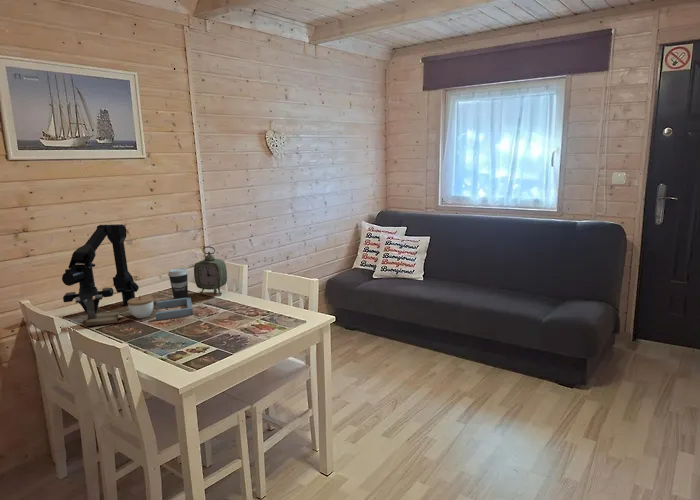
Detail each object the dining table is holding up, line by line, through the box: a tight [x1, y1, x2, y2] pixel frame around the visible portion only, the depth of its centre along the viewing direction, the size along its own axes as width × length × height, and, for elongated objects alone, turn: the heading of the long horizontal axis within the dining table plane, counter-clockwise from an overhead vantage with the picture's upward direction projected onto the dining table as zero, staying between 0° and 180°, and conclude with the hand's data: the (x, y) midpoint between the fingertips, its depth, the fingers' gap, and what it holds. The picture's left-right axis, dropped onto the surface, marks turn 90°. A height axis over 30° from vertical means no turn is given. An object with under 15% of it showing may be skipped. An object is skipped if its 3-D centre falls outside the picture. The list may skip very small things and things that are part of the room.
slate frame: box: [154, 296, 194, 321], centre depth 219 cm, size 19×16×3 cm
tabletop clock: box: [193, 245, 228, 296], centre depth 242 cm, size 14×9×25 cm, turn 76°
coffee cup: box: [167, 267, 189, 299], centre depth 236 cm, size 10×10×15 cm
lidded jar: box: [127, 295, 154, 319], centre depth 214 cm, size 11×11×9 cm
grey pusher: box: [84, 298, 120, 327], centre depth 208 cm, size 12×12×10 cm
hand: (91, 313), depth 207 cm, fingers closed on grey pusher, 3 cm apart
